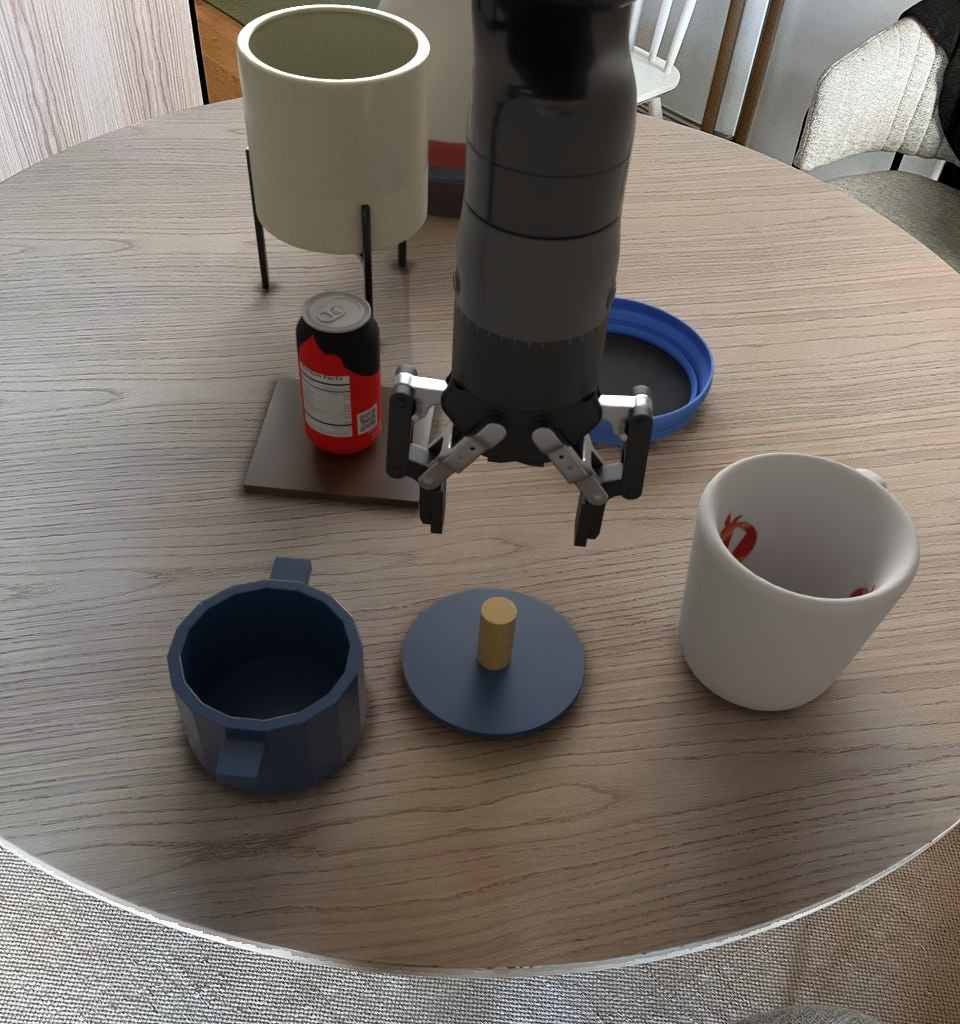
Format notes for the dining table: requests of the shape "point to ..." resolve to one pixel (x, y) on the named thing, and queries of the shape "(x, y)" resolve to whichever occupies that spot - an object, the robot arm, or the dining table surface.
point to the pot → (270, 682)
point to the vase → (444, 93)
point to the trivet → (326, 458)
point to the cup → (790, 576)
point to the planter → (336, 130)
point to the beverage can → (339, 372)
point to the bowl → (653, 366)
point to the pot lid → (493, 663)
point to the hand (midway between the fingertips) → (508, 530)
